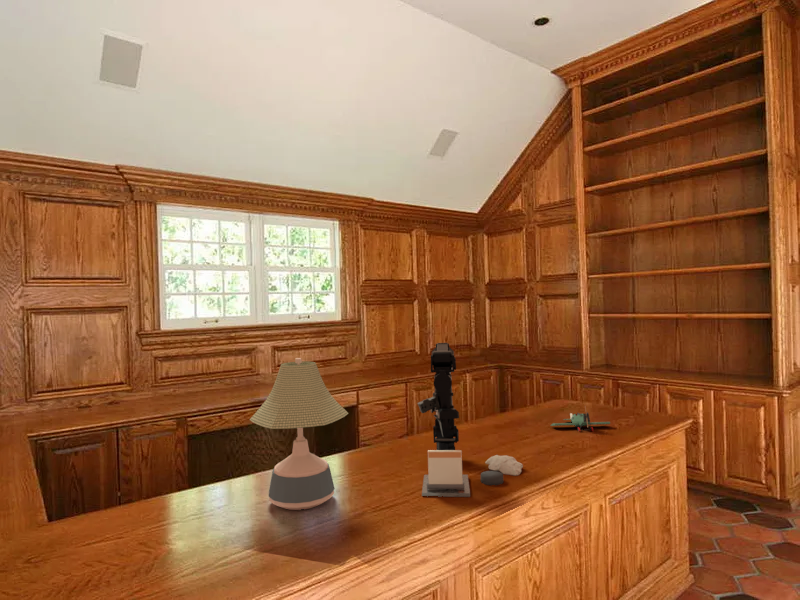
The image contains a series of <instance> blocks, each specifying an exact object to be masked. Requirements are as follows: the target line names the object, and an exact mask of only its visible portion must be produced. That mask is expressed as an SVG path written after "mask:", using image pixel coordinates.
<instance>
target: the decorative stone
mask: <svg viewBox="0 0 800 600" xmlns="http://www.w3.org/2000/svg"><path fill="white" fill-rule="evenodd" d="M484 463H485V465H488V469H489V471H497V472H501V473H502V474H503V475H510V476H520V474H521V473H522V468H523V467H524V465H523V463H521V462H519V461H517V459H516V458H515V457H513V456H509V455H499V454H496V455H492V456H490V457H489V458H488V459H487V460H486V461H485V462H484Z"/></svg>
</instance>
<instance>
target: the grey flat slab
mask: <svg viewBox="0 0 800 600" xmlns="http://www.w3.org/2000/svg"><path fill="white" fill-rule="evenodd" d="M462 481H463V483H464V489H427V483H429V476H428V474H424V475H423V480H422V488H421V489H422V490H421V497H422V496H427V497H426V498H429V497H428V496H438V497H439V498H440V497H442V496H443V497H444V498H446V497H447V498H449V497H450V498H451V497H452V498H453V497H454V498H461V497H462V498H463V497H464V498H470V497H471V489H470V482H469V474H462ZM438 497H437V498H438ZM443 497H442V498H443Z"/></svg>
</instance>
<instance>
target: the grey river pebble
mask: <svg viewBox="0 0 800 600" xmlns="http://www.w3.org/2000/svg"><path fill="white" fill-rule="evenodd" d="M480 482H481V484H484V485H486V486H492V485H495V486H500V484H501V485H502V484H503V483H504V474H502V473H501V472H499V471H493V470H486V471H483V472H481V473H480Z"/></svg>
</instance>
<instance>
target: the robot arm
mask: <svg viewBox="0 0 800 600" xmlns="http://www.w3.org/2000/svg"><path fill="white" fill-rule="evenodd" d="M456 360H457V359H456V357H455V352H454V350H453V349H452V348H451V347H450V343H448V342H437V343H435V347H434V348H433V349H432V350H431V355H430V373H434V376H433V377H434V379H433V387H434V391H433V393H432V396H431V397H428V398H426V399H422V400H421V401H419V402H417V406H418V408H419V411H420V413H422V414H425V413H427V412H428V411H429V412H430V413H431V414H433V413H434V412H435V414H433V417H434V418H435V419H434V420H435V421H434V425H433V426H432V429H433V431H432V433H433V443H434V444H436V450H456V445H455V443H458V442H459V441H460V437H459V435H460V434H459V432H460V431H459V428H457V425H455V420H456V419H460V412H459V411H458V410H457V408H455V406H454V404H453V397H454V392H453V386H452V385H453V382H452V381H453V379H452V378H453V377H452V374H451V373H455V370H457V362H456Z"/></svg>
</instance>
